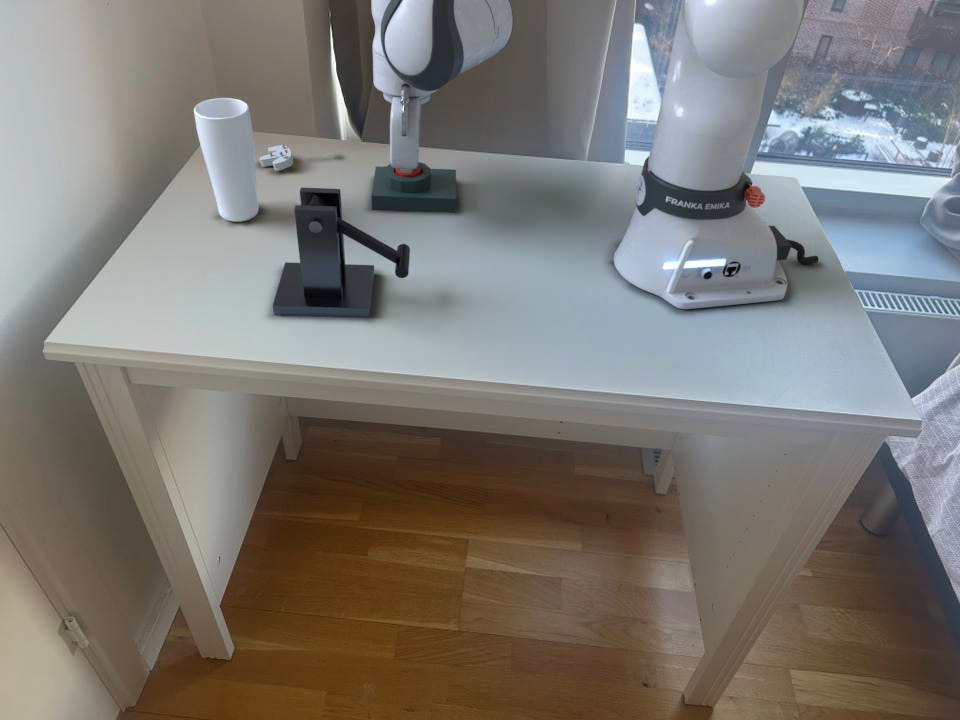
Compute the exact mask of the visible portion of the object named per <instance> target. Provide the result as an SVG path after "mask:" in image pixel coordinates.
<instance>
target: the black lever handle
mask: <svg viewBox="0 0 960 720" xmlns="http://www.w3.org/2000/svg"><path fill="white" fill-rule="evenodd" d="M307 206H333V205H332V204H330V203H328V202H326V201H325V200H323V199H321V198H320V197H318V196H316V195H313V197H312V198H311V200H310V202H309V203H308V205H307ZM333 207H335V206H333ZM337 222H338V231H339V232H341V233H342V234H343V236H346V237H348V238H349V239H352V240H353V241H354V242H356V243H358V244H360V245H362V246H364V247H365V248H367V249H369V250H371V251H373V252H374V253H376V254H378V255H379V256H381V257H383V258H384V259H387V260H388V261H390V262H391V263H394V264H395V267H394V274H395V276H396V277H397V278H399V279H404V278H406V277H408V276H409V272H410V256H411V248H410V246H409V245H408V244H406V243H401V244H399V245H397V247H396V249H395V248H393V247H391V246H390V245H388V244H386V243H384V242H382V241H381V240H379V239H377V238H376V237H373V236H372V235H371V234H369V233H367V232H365V231H364V230H362V229H360V228H358V227H356V226H355V225H353V224H351V223H350V222H348V221H346V220H345V219H343V218H342V219H341V218H339V217H337Z"/></svg>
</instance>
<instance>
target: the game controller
mask: <svg viewBox="0 0 960 720" xmlns="http://www.w3.org/2000/svg"><path fill="white" fill-rule="evenodd" d="M267 152H268V154H265V155H263V156H260V157H259V162H260V165H261V167H263V168H266V167H271V166H273V169H274V171H275V172H279V171H282V170H285V169H288V168H289V167H291V166H292V165H293V164H294V158H295V157H297V155H292V151H291V149H290V148H289V147H288V146H287V145H285V144H284V143H282V144H280V145H274V146H270V147H268V148H267ZM303 154H304V155H305V152H304V153H300V154H299V155H298V157H300V156H301V155H303ZM308 154H310V155H313V157H315V158H316V156H315V155H314V154H312V153H311V152H310V153H309V152H308ZM328 155H329V153H327V154H326V155H324V156H323V158H325V157H326V156H328ZM335 155H337V156H338V154H335Z"/></svg>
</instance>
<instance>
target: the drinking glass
mask: <svg viewBox="0 0 960 720" xmlns="http://www.w3.org/2000/svg"><path fill="white" fill-rule="evenodd" d="M193 114H194V121H195V128H196V133H197V137H198V142H199V145H200V149H201V153H202V156H203V159H204V163H205V166H206V169H207V173H208V177H209V180H210V184H211V187H212V191H213V194H214V198H215V201H216V206H217V211H218V214H219V216H220V217H221V218H222V219H224V220H226V221H229V222H233V223H234V222H235V223H238V222H239V223H240V222H245V221H249V220H251V219H253V218H255V217H256V216H257V215H258V213H259V210H260V206H259V200H258V199H259V198H258V189H257V188H258V187H257V173H256V171H257V170H256V153H255V152H256V151H255V137H254V136H255V135H254V128H253V122H252V117H251V112H250V107H249V104H247V103H246V102H245V101H243V100H241V99H237V98H233V97H232V98H231V97H216V98H210V99H206V100H203V101H201V102H198V103H197V104H196V105H195V106H194V108H193Z"/></svg>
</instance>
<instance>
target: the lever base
mask: <svg viewBox="0 0 960 720" xmlns="http://www.w3.org/2000/svg"><path fill="white" fill-rule="evenodd" d="M313 195H316V196H318V197H320V198H321V199H323V200H325V201H326V202H328V203H330V204H332V205H333V206H335V207H333V206H307V205H308V203H309V202H310V200H311V198H312V197H313ZM299 199H300V204H295V206H294V209H293V212H294V213H293V214H294V222H295V230H296V238H297V239H296V240H297V247H298V256H299V262H288V261H287V262H284V265H283V269H282V272H281V274H280V278H279V283H278V286H277V289H276V292H275V295H274V300H273V302H272V311H273V315H274V316H275V315H278V316H308V317H309V316H312V317H315V316H316V317H349V318H353V317H354V318H369V317H370V313H371V304H372V297H373V289H374V283H375V282H374V281H375V265H374V264H346V256H345V255H346V253H345V239H344V234H342V233H341V232H339V231H338V222H337V217H339V218H341V219H342V220H343V211H342V210H343V208H342V196H341V188H324V187H302V186H301V187H300V189H299Z"/></svg>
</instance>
